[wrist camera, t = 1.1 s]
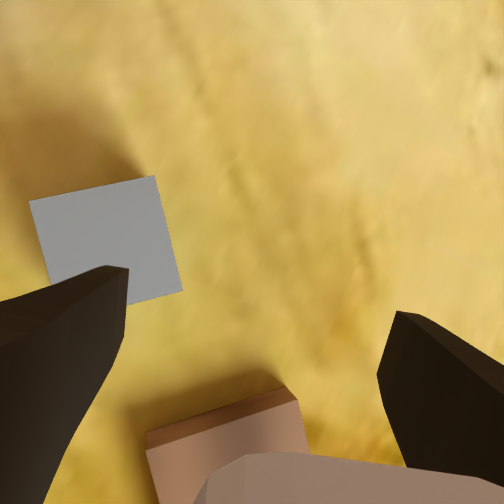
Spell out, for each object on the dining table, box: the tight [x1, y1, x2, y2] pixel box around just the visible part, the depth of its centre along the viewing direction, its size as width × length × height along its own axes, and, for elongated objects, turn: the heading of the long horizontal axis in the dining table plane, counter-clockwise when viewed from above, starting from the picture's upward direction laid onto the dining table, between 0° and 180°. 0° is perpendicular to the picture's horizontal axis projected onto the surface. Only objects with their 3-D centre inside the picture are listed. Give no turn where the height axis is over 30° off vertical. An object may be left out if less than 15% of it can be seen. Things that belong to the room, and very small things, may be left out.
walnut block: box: [145, 386, 310, 504], centre depth 24 cm, size 8×8×2 cm
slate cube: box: [28, 175, 183, 305], centre depth 21 cm, size 5×5×5 cm
